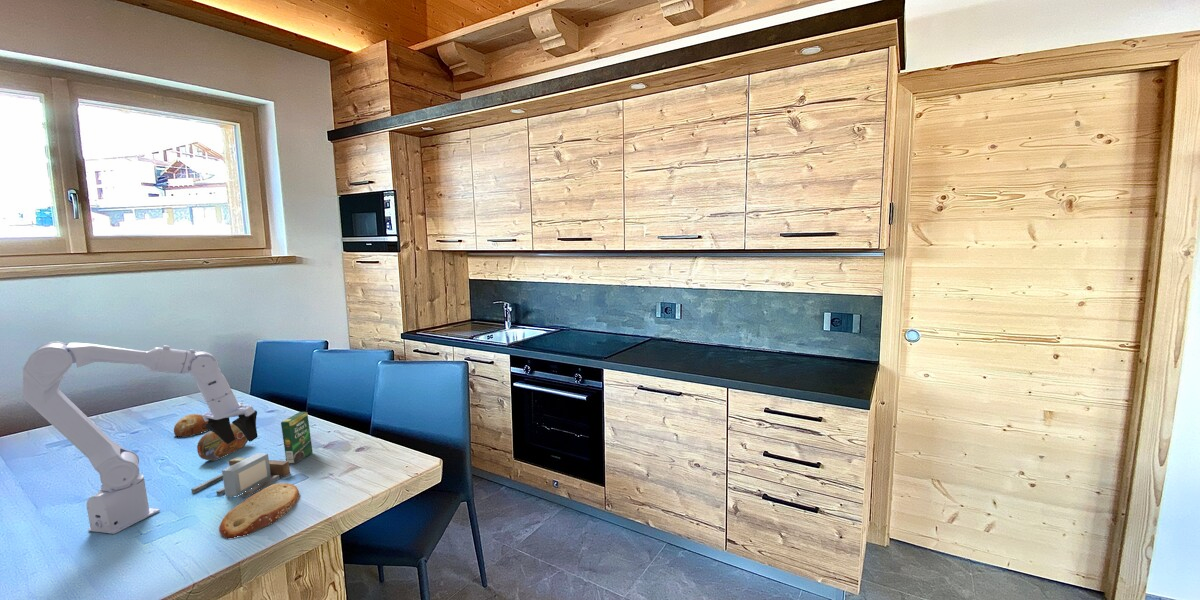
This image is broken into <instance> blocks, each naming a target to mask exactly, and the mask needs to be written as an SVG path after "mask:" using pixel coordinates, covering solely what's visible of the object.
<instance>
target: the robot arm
mask: <svg viewBox="0 0 1200 600" xmlns="http://www.w3.org/2000/svg"><path fill="white" fill-rule="evenodd" d="M92 363H111V364H124V365H125V364H127V365H138V366H139V365H140V366H141V365H142V366H144V367H145V368H146V369H147V370H148V371H149V372H156V373H157V372H158V373H166V374H177V375H180V374H181V375H184V374H190V375H191V376H192V377H193V378H194V379H195V381H196V386H197V388H198V390H199V392H200V394H201V395H202V397H203V400H204V401H205V404H206V405H207V407H208V408H209V411H207V412H205V413H203V414H201V415H202V417H203V419H204V421H205V422H206V421H209V422H208V424H206V425H205V428H207V429H209V430H208V431H210V432H214V433H215V434H217V435H218V436H219V437H220V438H221V439H222V440H223V441H224V442H225V443H226V444H229V443H231V442H232V441H233V440H235V436H234V433H233V431H232V429H231V425H230V424H234V425H236V426H237V427H238V428H239V429H240V430H241V431H242V432H243V434H244V435H245V437H246V438H247V440H248V441H247V442H250V443H251V442H252V441H254V440H255V439H257V438H258V431H257V415H258V411H257V410H254V407H253V406H252V405H244V404H243V402H242V401H240V402H238V400H237V398H236V396H235V394H234V392H233V390H232V388H231V386H230V384H229V383H228V380H227V379H226V377H225V375H224V374H223V373H222V370H221V368H220V367H219V366H220V364H219V361H218V360H217V359H216V357H215V356H214V355H213V354H212V353H211V352H208V351H204V350H196V349H193V348H190V349H189V350H185V349H176V348H171V346H170V345H166V344H164V345H162V347H158V346H155V347H154V348H152V349H150V350H147V351H146V350H140V349H139V350H138V349H131V348H126V347H125V348H124V347H119V346H118V347H117V346H112V345H110V346H109V345H103V344H95V343H85V342H84V343H83V342H69V343H65V342H61V341H50V342H46V343H44V344H41V345H40V346H38V348H36V349H35V351H34V352H32V353H31V354H30V355H29V357H28V358H27V360H26V362H25V364H24V366H23V367H22V398H23V400H25V402H27V403H28V404H29V405H30V406H31V407H32V408H33V409H34V410H35V411H36V412H37V413H38V414H40V415H41V416H42V417H43V418H44V419H45V420H46V421H47V422H48V423H49V424H51V426H53V428H55V429H56V430H57V431H58V432H59V433H60V434H61V435H62V436H63V437H65V439H66V440H68V442H70V443H71V444H72V445H73V447H76V449H77V450H79V451H80V452H81V453H82V454H83V455H84V456H85V457H86V458H87V459H88V460H89V462H90V464H91V466H92V467H93V470H95V471H96V472H97V473H98V474H99V479H100V483H101V485H100V490H99V491H97V493H95V494H94V495H92V496H90V497H89V498H88V499H87V501H86V510H87V511H86V512H87V517H88V522H89V528H88V529H87V530H88V531H89V532H94V533H95V532H96V533H105V534H113V535H114V534H117V533H120V532H121V531H123V530H125V529H128V528H129V527H132V526H133V525H134V524H137V523H139V522H141V521H143V520H145V519H147V518H148V517H151V516H152V515H153V516H154V515H155V514H157V513H159V512H160V508H152V507H149V501H148V494H147V487H146V482H145V476H144V474H141V473H140V468H139V465H140V458H139V456H138V454H137V452H134V451H133V450H130V449H126V448H124V447H122V445H120V444H119V443H118V442H115V441H114V440H113V439H111V438H110V437H109V436H108V435H106V433H104V431H103V430H102V429H100V427H98V426H97V425H96V424H95V422H93V421H92V420H91V419H90V418H89V417H88V416H87V415H86V414H85V413H84V412H83V411H82V410H81V409H80V408H79V407H78V406H77V405H76V404H75V403H74V402H73V401H72V400H70V399H69V397H67V396H66V394H65V393H64V392H62V391H61V390H60V386H61V383H62V380H63V378H64V375H65V374H66V373H67V372H68V371H70V368H71V367H72V365H73V364H76V368H81V367H84V366H86V365H89V364H92ZM234 417H237V418H236V419H234V420H233V421H230V418H234Z"/></svg>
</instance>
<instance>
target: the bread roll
mask: <svg viewBox="0 0 1200 600" xmlns="http://www.w3.org/2000/svg"><path fill="white" fill-rule="evenodd" d="M202 415H203V414H195V413H194V414H192V413H191V414H187V415H185V416H183V417H181V418H180V419H179V420H178V421H177V422H176V423H175V424H174V427H173V433H174V435H175V437H177V436H178V437H177V438H182V437H181V436H187V437H189V436H188V435H192V434H197V433H200V434H202V433H201V432H203V433H205V432H204V431H206V432H208V431H210V430H209V429H207V428H205V425H206V424H208V422H209V421H206V422H205V421H204V419H203V417H202ZM207 430H208V431H207ZM197 435H198V434H197ZM179 436H180V437H179ZM192 436H193V435H192Z"/></svg>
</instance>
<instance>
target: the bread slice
mask: <svg viewBox="0 0 1200 600" xmlns="http://www.w3.org/2000/svg"><path fill="white" fill-rule="evenodd" d="M299 499H300V491H299V488H298V487H297V485H294V484H292V483H287V482H280V483H279V482H278V483H271V484H270V485H268V486H266V487H264V488H262V489H260V490H259V491H257V492H255V493H253V494H252V495H250V496H248V497H247V498H245V500H244V501H241V502H240V503H239V504H238V505H236V506H235V507H233V509H231V510H229V511H228V512H226V514H225V515H224V517H223V519H222V520H221V522H220V525H219V527H218V531H219V535H221V536H222V537H224V538H225V539H226V538H227V540H229V539H228V538H233V539H235V538H234V537H237V536H243V535H246V536H248V535H247V534H249V535H251V534H252V532H253V533H254V531H255V532H256V530H257V531H259V530H261V529H263V527H264V528H266V527H268V526H271V525H272V524H273V522H274V523H276V522H277V521H279V520H280V519H282V518H283V517H284V516H285V515H286V514H288V513H289V512H290V511H291V510H292V509H293V508H292V507H294V505H296V504H297V502H298V501H297V500H299ZM291 508H292V509H291ZM290 509H291V510H290ZM289 510H290V511H289ZM288 511H289V512H288ZM285 513H286V514H285ZM284 514H285V515H284ZM283 515H284V516H283ZM282 516H283V517H282ZM279 518H280V519H279ZM278 519H279V520H278ZM276 520H277V521H276ZM271 523H272V524H271ZM258 529H259V530H258ZM250 533H251V534H250ZM243 537H244V536H243Z"/></svg>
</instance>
